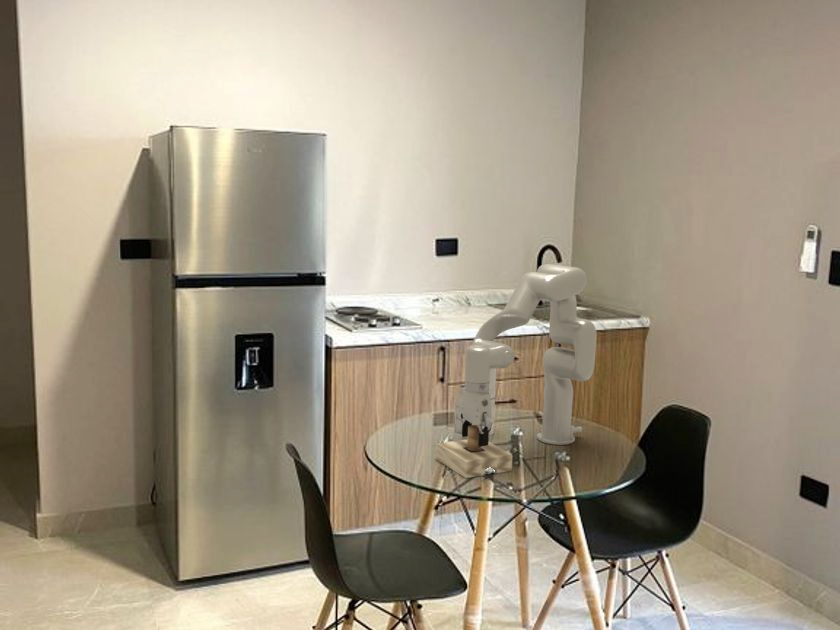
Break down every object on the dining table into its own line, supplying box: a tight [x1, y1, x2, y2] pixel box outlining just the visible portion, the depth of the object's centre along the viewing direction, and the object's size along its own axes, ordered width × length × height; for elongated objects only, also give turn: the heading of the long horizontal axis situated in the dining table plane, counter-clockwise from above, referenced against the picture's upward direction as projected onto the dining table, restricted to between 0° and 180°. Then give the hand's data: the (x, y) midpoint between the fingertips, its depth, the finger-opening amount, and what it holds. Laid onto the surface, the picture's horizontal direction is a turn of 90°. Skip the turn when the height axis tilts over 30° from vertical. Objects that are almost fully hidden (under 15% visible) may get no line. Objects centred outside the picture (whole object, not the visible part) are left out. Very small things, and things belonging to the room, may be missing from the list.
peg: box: [467, 424, 481, 453], centre depth 260 cm, size 4×4×12 cm
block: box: [435, 439, 513, 479], centre depth 261 cm, size 16×18×5 cm
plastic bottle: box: [452, 384, 468, 441], centre depth 277 cm, size 6×7×20 cm
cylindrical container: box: [472, 369, 497, 436], centre depth 292 cm, size 7×7×25 cm
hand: (474, 440), depth 260 cm, fingers open, 9 cm apart
